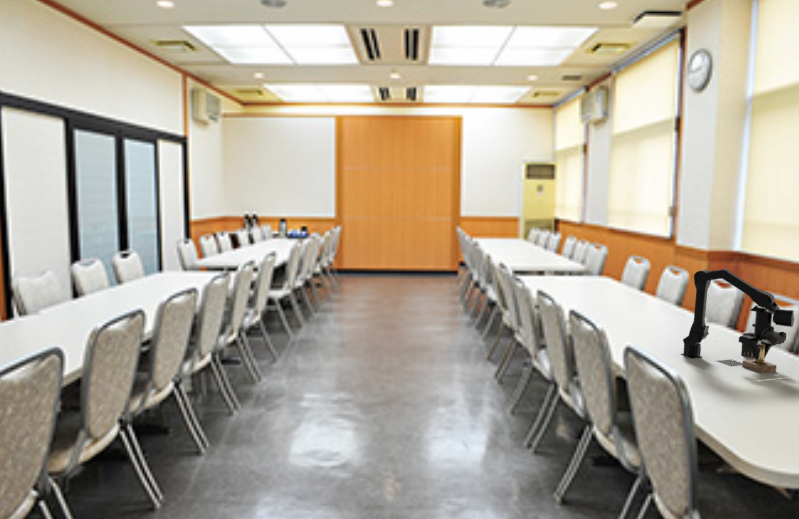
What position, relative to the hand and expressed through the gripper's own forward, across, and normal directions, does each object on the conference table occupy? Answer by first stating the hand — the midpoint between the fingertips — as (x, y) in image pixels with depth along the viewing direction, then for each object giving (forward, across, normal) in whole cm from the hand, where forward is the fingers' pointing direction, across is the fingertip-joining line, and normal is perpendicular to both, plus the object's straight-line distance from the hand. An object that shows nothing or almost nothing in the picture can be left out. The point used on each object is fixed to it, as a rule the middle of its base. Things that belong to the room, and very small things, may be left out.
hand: (759, 359), depth 239 cm
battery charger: (+5, +13, +16) cm, 21 cm away
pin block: (+5, 0, 0) cm, 5 cm away
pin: (+4, 0, 0) cm, 4 cm away
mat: (+5, -4, +10) cm, 12 cm away
